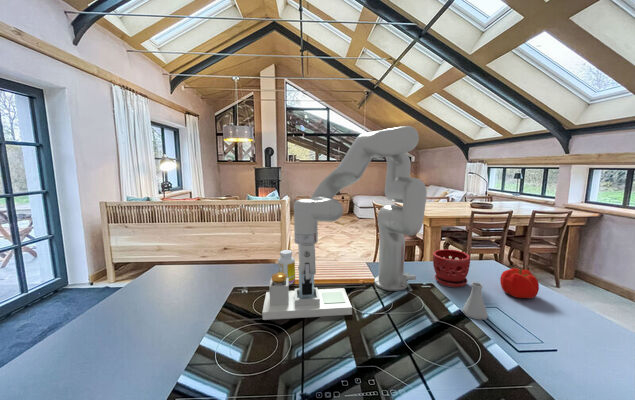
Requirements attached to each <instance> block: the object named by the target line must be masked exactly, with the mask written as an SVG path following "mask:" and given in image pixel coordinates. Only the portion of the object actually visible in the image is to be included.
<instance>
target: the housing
mask: <svg viewBox="0 0 635 400" xmlns="http://www.w3.org/2000/svg"><path fill="white" fill-rule="evenodd" d="M268 287H269V291H266V293H265V298H264V302H263V307H262V314H261V315H262V320H264V321H267V320H268V321H269V320H270V321H271V320H284V319H285V320H286V319H299V318H300V319H301V318H317V317H334V316H335V317H336V316H349V315H350V316H351V315H353V306H352V304H351V302H350V300H349V299H350V298H349V297H348V294H347V292H346V289H345V288H344V287H343V288H341V287H340V288H337V287H336V288H321V289H320V288H319V289H318V287H314V298H306V299H299V287H298V288H294V290H290V285H289V278H287V279H286V281H285V285H274V282H273V281H272V278H270V281H269V286H268Z"/></svg>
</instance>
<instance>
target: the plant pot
mask: <svg viewBox="0 0 635 400" xmlns="http://www.w3.org/2000/svg"><path fill="white" fill-rule="evenodd" d="M449 257H451V258H449ZM456 258H458V259H456ZM432 262H433V263H432V265H433V270H434V272H435V275H434V279H435V281H436V282H438V283H439V284H440V285H442V286H446V287H449V288H460V287H464V286H465V285H467V283H468V279H467V276H468V275H469V271H470V263H471V256H470V255H469V253H466V252H464V251H462V250H461V251H460V250H456V249H446V248H445V249H436V250H435V251H433V253H432Z"/></svg>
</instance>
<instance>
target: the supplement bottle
mask: <svg viewBox="0 0 635 400" xmlns="http://www.w3.org/2000/svg"><path fill="white" fill-rule="evenodd" d="M279 254H280V257H279V258H278V260H277V265H278V268H277V269H278V271H277V273H285V274H286V277H287V278H289V286H291V285H293V284H294V283H295V282H294V280H295V281H296V263H295V262H296V261H295V260H296V259H295V257H293V256H292V255H293V251H292V250H290V249H284V250H280V253H279ZM293 282H294V283H293Z"/></svg>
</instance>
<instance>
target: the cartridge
mask: <svg viewBox="0 0 635 400" xmlns="http://www.w3.org/2000/svg"><path fill="white" fill-rule="evenodd" d="M304 273H305V272H304ZM309 273H310V272H309ZM304 279H305V276H304ZM311 282H312V294H311V295H302V283H303V275H301V272H300V265H299V264H298V288H299V299H306V298H314V288H315V275H314V274H312V272H311Z"/></svg>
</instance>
